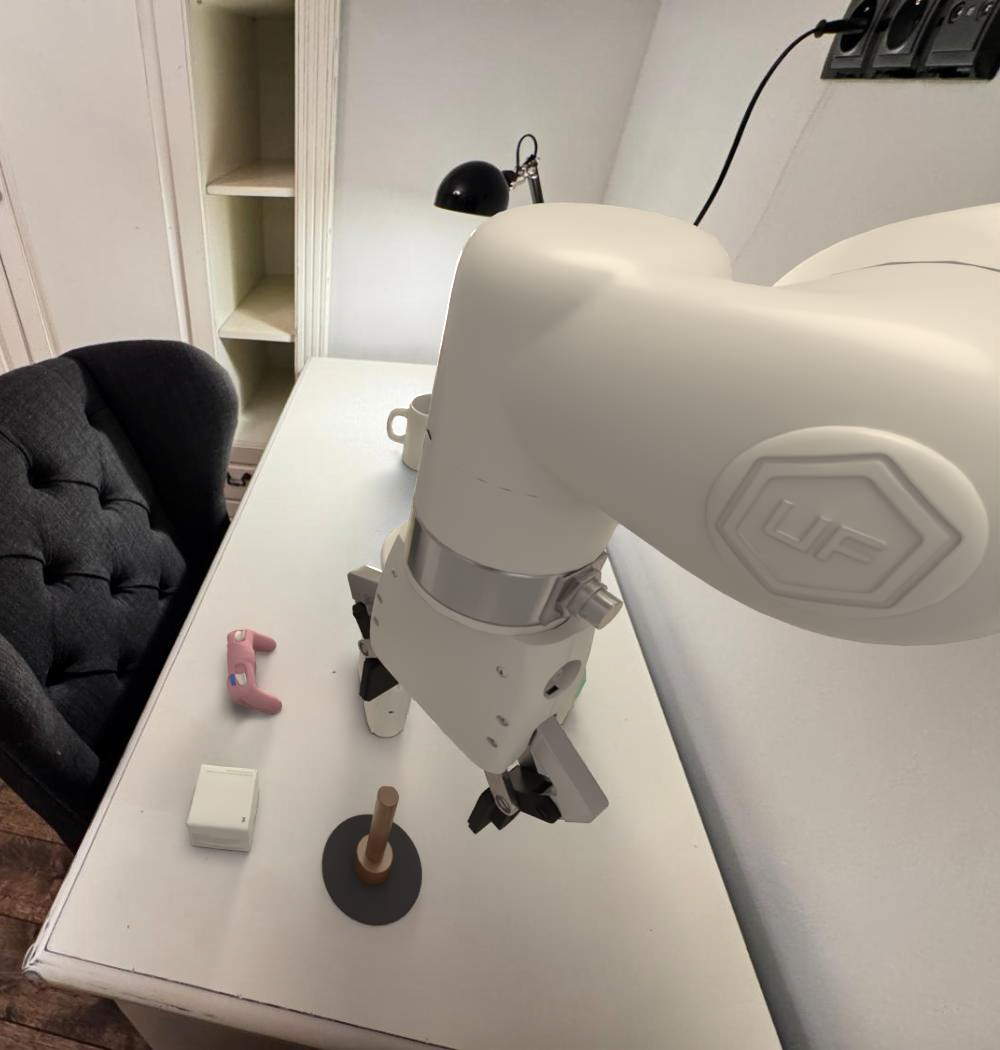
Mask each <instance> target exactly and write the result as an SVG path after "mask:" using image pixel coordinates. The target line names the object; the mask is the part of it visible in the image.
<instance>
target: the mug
mask: <svg viewBox="0 0 1000 1050" xmlns="http://www.w3.org/2000/svg"><path fill="white" fill-rule="evenodd" d="M431 395H432V393H423V394H418V395H417V396H415V397H413V398H412V399H411V400H410V402H409V406H396V407H394V408H392V410H391V411H390V412H389V414H388V417H387V422H386V433H387V436H388V438H389V439H390V440H391V441H393V442H395V443H398V444H401V445H403V448H402V453H401V458H402V461H403V463H404V464H405V465H406V466H407V467H408V468H409V469H411V470H413V471H416V472H418V468H419V462H420V457H421V451H422V445H423V440H424V434H425V428H426V423H427V417H428V412H429V406H430V401H431ZM396 417H403V418H405V419H406V427H405V433H397V432H395V430H394V428H393V424H394V419H395V418H396Z"/></svg>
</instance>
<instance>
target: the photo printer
mask: <svg viewBox="0 0 1000 1050" xmlns="http://www.w3.org/2000/svg"><path fill="white" fill-rule="evenodd" d="M362 638H363V636H362V635H361V639H362ZM365 658H366V657H365V656H364V655H363V654H362V653H361V651H360V650H359V655H358V663H357V664H358V665H357V666H358V667H357V668H358V676H359V682H360V684H361V677H362V670H363V663H364V661H365ZM412 699H413V698H412V697H411V696H410V695H409V693H408V692H407V691H406V690H405V689H404V688H403V687H402V686H401V684H400V683H399V684H398V685H396V686H394V687H393V688H391V689H389V690H388V691H386V692H384V693H383V694H381V695H380V696H378V697H376V698H375V699H373V700H371V701H370V702H367V701H364V700H363V699H362V701H363V707H364V712H365V713H364V714H365V717H366V721H367V725H368V728H369V730H370V733H374V734H375V735H376V736H378V737H380V738H392V737H395V736H396V735H398V734H399V733H400V732H403V731H404V729H405V726H406V724H407V723H406V722H407V719H408V715H409V711H410V706H411V703H412Z"/></svg>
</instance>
